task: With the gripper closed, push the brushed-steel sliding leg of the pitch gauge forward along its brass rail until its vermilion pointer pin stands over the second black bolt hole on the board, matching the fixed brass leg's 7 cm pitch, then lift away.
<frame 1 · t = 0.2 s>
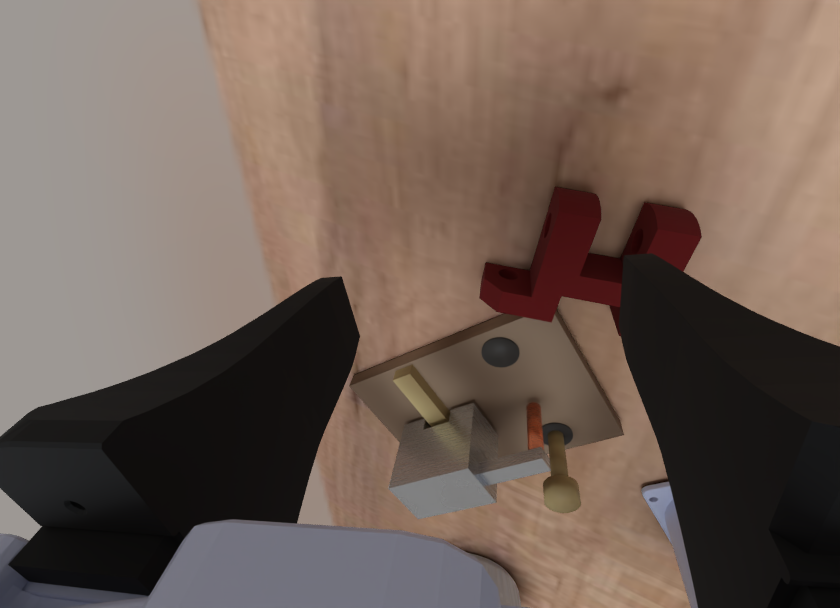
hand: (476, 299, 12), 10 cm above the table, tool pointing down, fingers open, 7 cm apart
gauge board: (483, 397, 28), on the table
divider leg: (472, 453, 25), point 4 cm above the table, slide at -0.5 cm
bracket: (596, 245, 22), on the table
ramekin: (463, 574, 41), on the table
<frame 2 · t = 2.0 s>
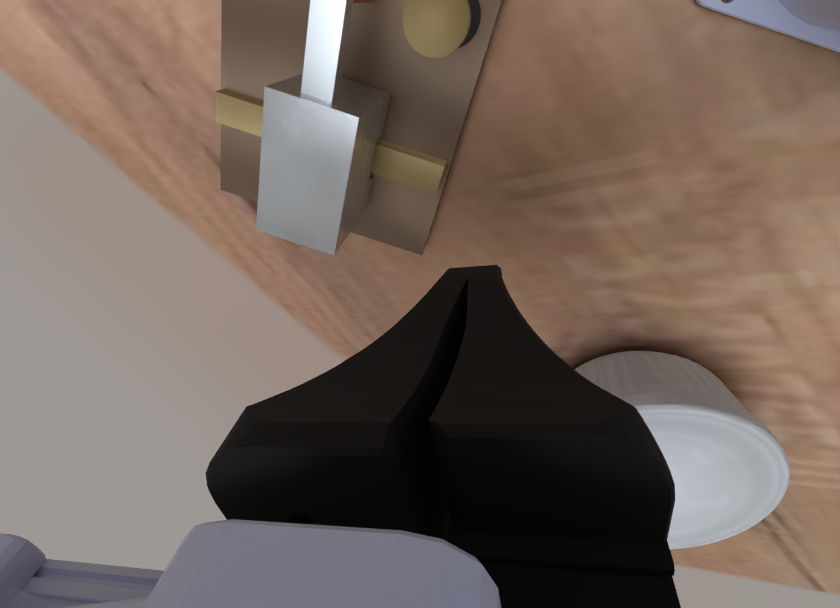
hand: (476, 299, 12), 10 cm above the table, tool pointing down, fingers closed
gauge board: (351, 72, 18), on the table
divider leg: (332, 112, 16), point 4 cm above the table, slide at -0.5 cm
ramekin: (627, 405, 26), on the table
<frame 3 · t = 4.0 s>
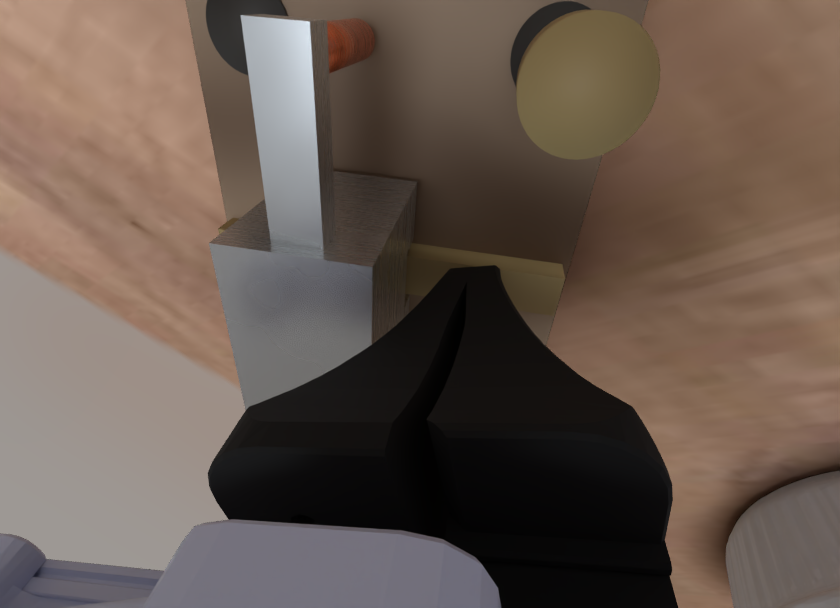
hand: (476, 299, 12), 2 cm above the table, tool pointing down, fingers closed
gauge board: (401, 163, 13), on the table
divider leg: (332, 238, 10), point 4 cm above the table, slide at 0.8 cm, touching gripper
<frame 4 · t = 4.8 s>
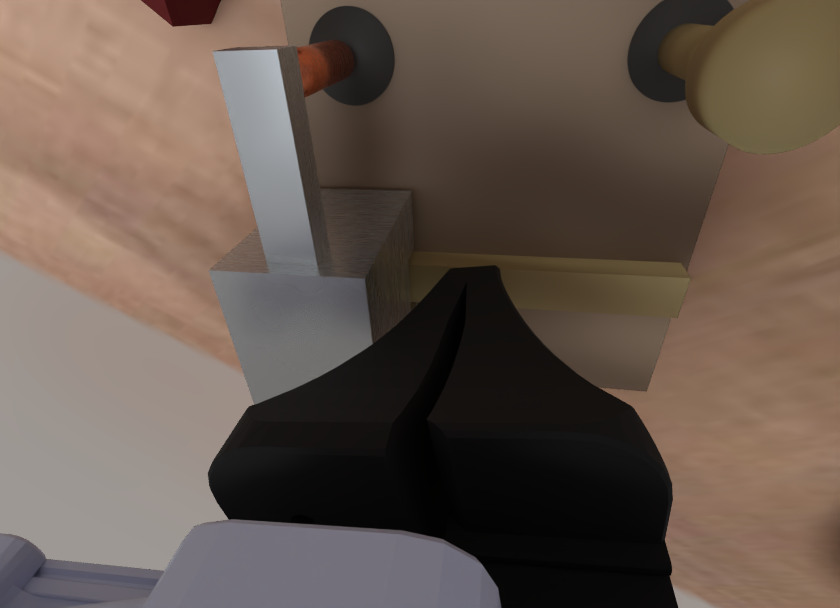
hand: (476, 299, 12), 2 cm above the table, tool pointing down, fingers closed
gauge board: (499, 175, 12), on the table
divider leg: (331, 254, 10), point 4 cm above the table, slide at 3.7 cm, touching gripper
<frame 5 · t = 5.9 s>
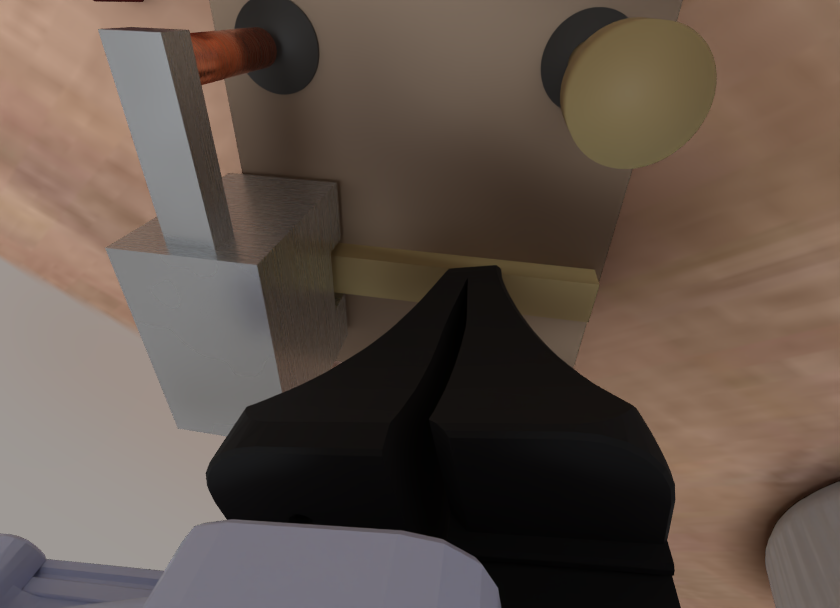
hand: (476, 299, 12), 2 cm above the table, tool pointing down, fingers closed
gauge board: (428, 174, 12), on the table
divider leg: (246, 240, 10), point 4 cm above the table, slide at 3.7 cm
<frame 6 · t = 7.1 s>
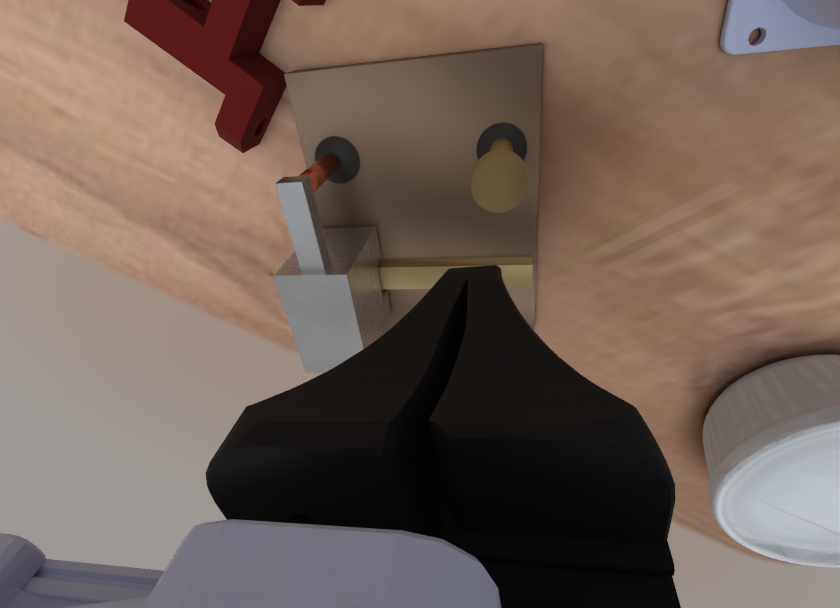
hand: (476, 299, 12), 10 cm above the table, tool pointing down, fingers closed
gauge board: (427, 213, 21), on the table
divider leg: (332, 264, 19), point 4 cm above the table, slide at 3.7 cm
ramekin: (795, 412, 24), on the table
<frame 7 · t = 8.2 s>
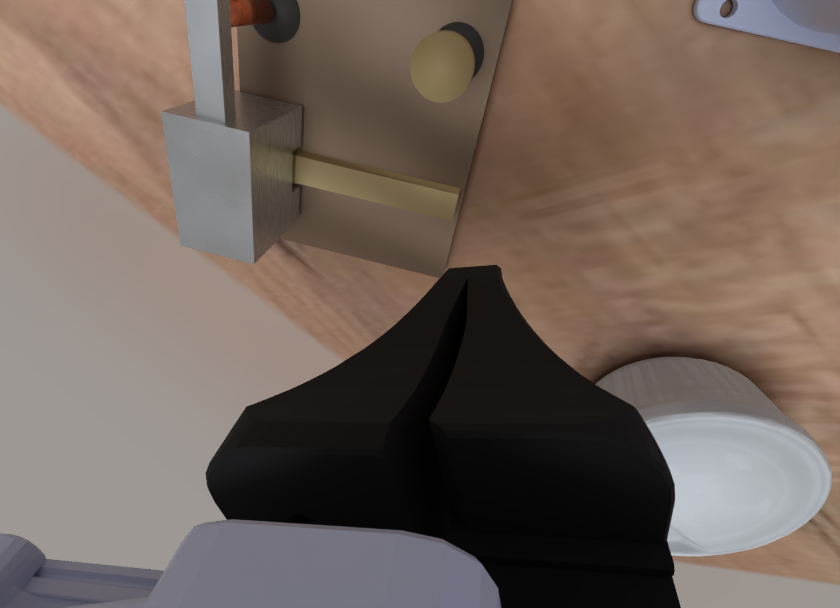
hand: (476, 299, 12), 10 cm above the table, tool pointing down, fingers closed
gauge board: (363, 111, 19), on the table
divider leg: (240, 129, 17), point 4 cm above the table, slide at 3.7 cm
ramekin: (658, 411, 26), on the table
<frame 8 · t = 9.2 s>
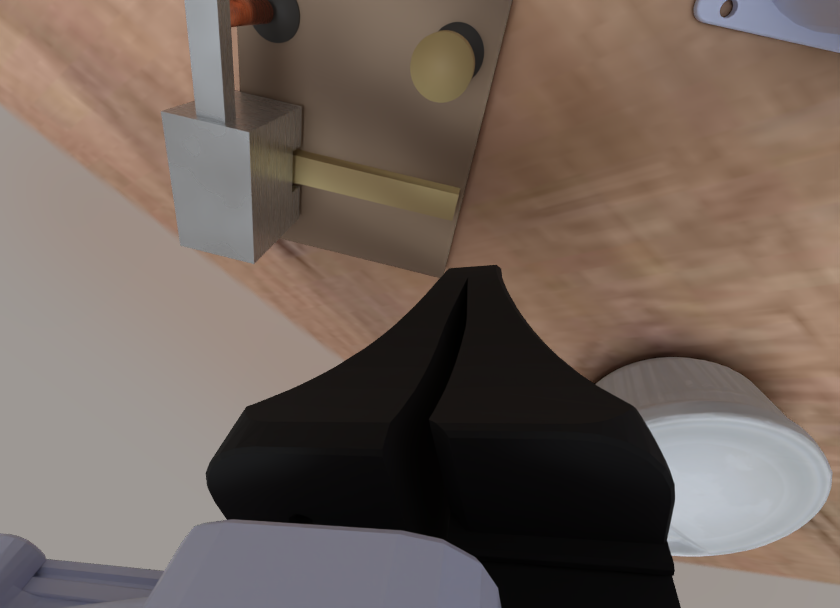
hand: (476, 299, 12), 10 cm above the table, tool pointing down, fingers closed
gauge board: (363, 111, 19), on the table
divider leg: (240, 129, 17), point 4 cm above the table, slide at 3.7 cm
ramekin: (659, 411, 26), on the table
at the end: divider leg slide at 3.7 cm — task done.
